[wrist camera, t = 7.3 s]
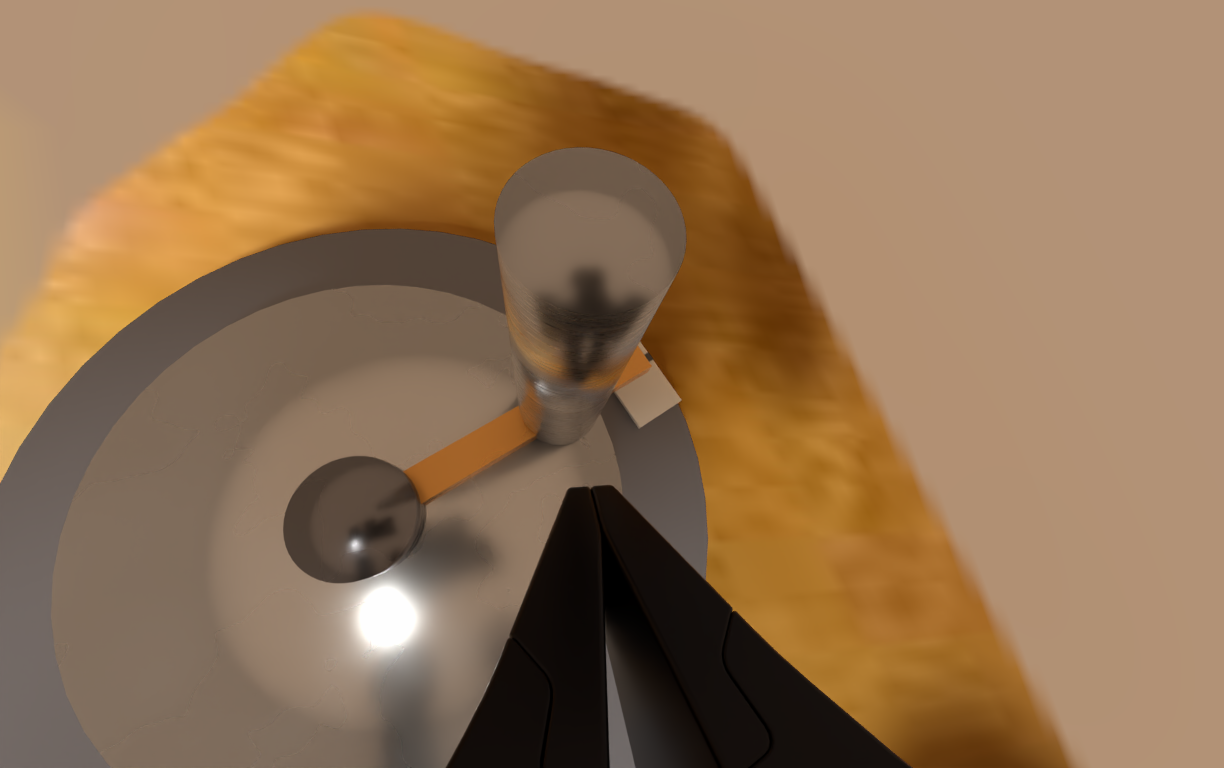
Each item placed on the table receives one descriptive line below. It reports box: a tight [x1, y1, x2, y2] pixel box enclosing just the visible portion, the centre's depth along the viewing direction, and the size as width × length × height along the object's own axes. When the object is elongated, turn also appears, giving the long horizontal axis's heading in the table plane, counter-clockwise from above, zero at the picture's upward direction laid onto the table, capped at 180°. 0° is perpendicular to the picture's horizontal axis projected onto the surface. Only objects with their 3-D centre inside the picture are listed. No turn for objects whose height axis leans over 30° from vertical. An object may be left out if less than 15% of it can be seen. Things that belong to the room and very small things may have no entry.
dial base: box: [0, 229, 708, 768], centre depth 15 cm, size 20×20×2 cm
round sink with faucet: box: [51, 147, 686, 768], centre depth 9 cm, size 16×14×10 cm
